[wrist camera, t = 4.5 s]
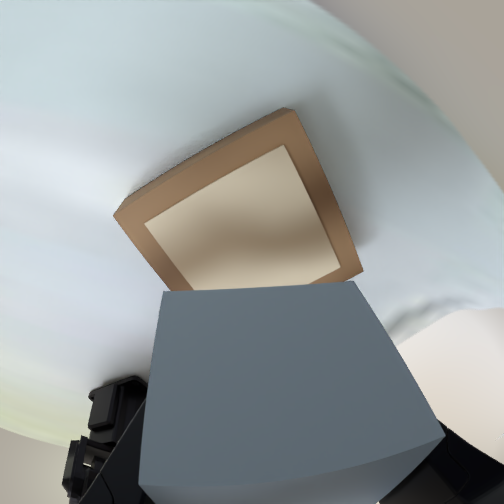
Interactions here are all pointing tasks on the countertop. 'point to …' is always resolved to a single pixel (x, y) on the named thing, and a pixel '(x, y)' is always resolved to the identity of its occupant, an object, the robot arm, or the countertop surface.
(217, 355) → the block
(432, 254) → the countertop surface
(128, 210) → the base
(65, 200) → the countertop surface
